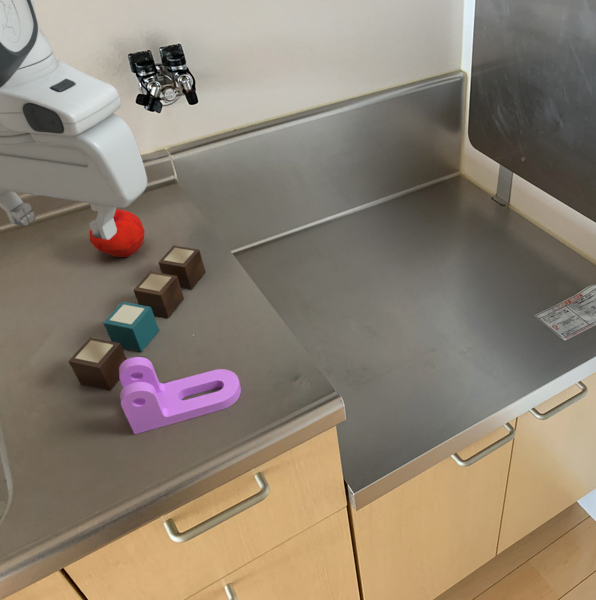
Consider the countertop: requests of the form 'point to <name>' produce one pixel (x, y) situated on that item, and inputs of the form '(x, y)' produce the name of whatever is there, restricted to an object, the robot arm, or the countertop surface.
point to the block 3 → (159, 293)
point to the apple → (122, 236)
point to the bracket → (171, 395)
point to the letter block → (131, 326)
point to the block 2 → (183, 265)
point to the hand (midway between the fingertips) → (64, 229)
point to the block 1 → (98, 363)
